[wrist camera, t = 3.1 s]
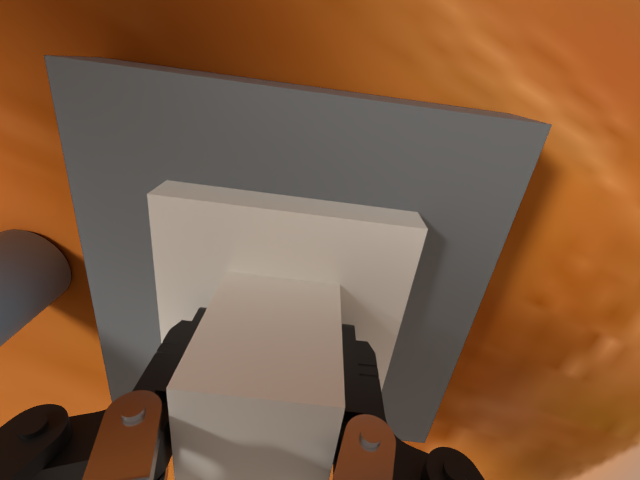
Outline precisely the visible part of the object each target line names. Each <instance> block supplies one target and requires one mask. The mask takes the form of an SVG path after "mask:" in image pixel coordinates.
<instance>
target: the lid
mask: <svg viewBox="0 0 640 480" xmlns="http://www.w3.org/2000/svg"><path fill="white" fill-rule="evenodd" d="M147 200H148V210H149V220H150V231H151V241H152V251H153V262H154V272H155V283H156V293H157V303H158V314H159V324H160V334H161V343H162V342H163V340H164V338H165V336H166V335H167V333H168V331H169V330H170V329H171V328H172V327H173V326H175V325H176V324H177V323H179V322H180V321H181V320H186V321H192V320H193V318H194V316H195V314H196V312H197V311H198V309H199V308H200V307H204V308H207V309H206V311H205V313H204V315H203V317H202V319H201V321H200V323H199V325H198V327H197V329H196V331H195V333H194V335H193V337H192V339H191V341H190V343H189V345H188V347H187V348H186V350H185V352H184V354H183V356H182V358H181V360H180V362H179V364H178V366H177V368H176V370H175V372H174V374H173V376H172V378H171V380H170V382H169V384H168V386H167V388H166V393H167V403H168V413H169V424H170V434H171V445H172V455H173V466H174V476H175V480H329V477H330V473H331V468H332V464H333V459H334V455H335V451H336V446H337V442H338V438H339V433H340V429H341V424H342V420H343V416H344V411H345V391H344V369H343V346H342V324H349V325H354V326H355V335H356V340H358V341H367V342H368V343H369V344H370V346H371V347H372V349H373V350H374V352H375V354H376V361H377V368H378V373H379V380H380V386H381V392H382V388H383V385H384V381H385V378H386V374H387V371H388V367H389V364H390V360H391V357H392V353H393V350H394V346H395V343H396V339H397V336H398V332H399V329H400V325H401V322H402V318H403V315H404V311H405V308H406V304H407V301H408V297H409V294H410V290H411V287H412V283H413V280H414V276H415V273H416V269H417V266H418V262H419V259H420V255H421V252H422V248H423V245H424V241H425V238H426V234H427V231H428V228H427V227H426V225H425V223H424V222H423V220H422V218H421V217H420V215H419V213H418V212H413V211H405V210H398V209H390V208H382V207H374V206H366V205H358V204H350V203H343V202H335V201H327V200H319V199H311V198H303V197H295V196H287V195H280V194H272V193H264V192H256V191H248V190H240V189H232V188H225V187H217V186H209V185H201V184H193V183H185V182H177V181H170V180H166V181H165V182H163V183H162V184H160V185H159V186H158V187H156V188H155V189H153V190H152V191H150V192H149V193H148V194H147Z"/></svg>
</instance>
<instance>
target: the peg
mask: <svg viewBox="0 0 640 480" xmlns="http://www.w3.org/2000/svg"><path fill="white" fill-rule="evenodd" d="M70 282H71V270H70V267H69V264H68V262H67V260H66V259H65V257H64V256H63V254H62V253H61V252H60V251H59V250H58V249H57V248H56V247H55V246H54V245H53V244H52V243H50V242H49V241H48V240H46V239H45V238H43V237H41V236H39V235H37V234H34V233H32V232H28V231H24V230H15V229H14V230H6V231H3V232H0V346H1V345H3V344H4V343H5V342H6V341H7V340H9V339H10V338H11V337H12V336H13V335H14V334H16V333H17V332H18V331H19V330H20V329H21V328H23V327H24V326H25V325H26V324H27V323H29V322H30V321H31V320H32V319H33V318H34V317H36V316H37V315H38V314H39V313H40V312H41V311H43V310H44V309H45V308H46V307H47V306H49V305H50V304H51V303H52V302H53V301H54V300H56V299H57V298H58V297H59V296H60V295H61V294H63V293H64V292H65V291H66V290H67V288H68V287H69V285H70Z"/></svg>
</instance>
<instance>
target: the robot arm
mask: <svg viewBox="0 0 640 480" xmlns="http://www.w3.org/2000/svg"><path fill="white" fill-rule="evenodd" d="M206 309H207V308H204V307H200V308H199V309H198V311H197V312H196V314H195V316H194V318H193V320H192V321H186V320H181V321H180V322H179V323H177V324H176V325H175V326H173V327H172V328H171V329H170V330H169V331H168V333H167V335H166V336H165V338H164V340H163V342H162V343H161V345H160V346H159V348H158V349H157V352H156V353H155V354H154V356H153V358H152V359H151V361H150V363H149V364H148V366H147V368H146V369H145V371H144V372H143V374H142V376H141V377H140V379H139V381H138V382H137V384H136V386H135V387H134V389H133V390H132V392H129V393H126V394H124V395H122V396H120V397H119V398H117V399H116V400H115V401H113V402H112V403H111V404H110V406H109V407H108V408H107V409H106V410H103V411H99V412H95V413H89V414H83V415H77V416H72V417H68V413H67V411H66V410H65V409H64V408H63V407H62V406H59V405H55V404H45V405H39V406H36V407H33V408H30V409H28V410H25V411H23V412H22V413H20V414H18V415H17V416H15V417H14V418H12V419H11V420H10V421H8V422H7V423H6V424H4V425H3V426H2V427H0V480H167V477H168V463H169V461H170V458H171V456H172V445H171V434H170V424H169V413H168V403H167V393H166V388H167V386H168V384H169V382H170V380H171V378H172V376H173V374H174V372H175V370H176V368H177V366H178V364H179V362H180V360H181V358H182V356H183V354H184V352H185V350H186V348H187V347H188V345H189V343H190V341H191V339H192V337H193V335H194V333H195V331H196V329H197V327H198V325H199V323H200V321H201V319H202V317H203V315H204V313H205V311H206ZM342 346H343V369H344V391H345V411H344V416H343V420H342V424H341V429H340V433H339V438H338V442H337V446H336V451H335V455H334V459H333V480H484V478H483V477H482V475H481V474H480V472H479V471H478V469H477V468H476V466H475V465H474V464H473V462H472V461H471V460H470V459H469V458H468V457H466V456H465V455H464V454H462V453H461V452H459V451H457V450H455V449H452V448H448V447H438V448H436V449H434V450H432V451H431V452H430V453H429V454H428V453H425V452H423V451H421V450H418V449H416V448H414V447H412V446H409V445H407V444H406V443H404V442H402V441H401V440H400V439H399V438H397V437H396V436H395V434H394V433H393V431H392V429H391V428H390V427H389V425H388V424H387V421H386V417H385V411H384V405H383V399H382V392H381V386H380V380H379V373H378V368H377V361H376V354H375V352H374V350H373V349H372V347H371V346H370V344H369V343H368V342H367V341H358V340H356V335H355V326H354V325H349V324H342Z"/></svg>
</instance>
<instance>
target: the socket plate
mask: <svg viewBox="0 0 640 480" xmlns="http://www.w3.org/2000/svg"><path fill="white" fill-rule="evenodd" d="M44 58H45V63H46V68H47V73H48V78H49V84H50V89H51V94H52V99H53V104H54V109H55V114H56V119H57V124H58V129H59V135H60V140H61V145H62V150H63V155H64V160H65V165H66V170H67V175H68V181H69V186H70V191H71V196H72V201H73V206H74V211H75V216H76V221H77V226H78V232H79V237H80V242H81V247H82V252H83V257H84V262H85V267H86V272H87V277H88V283H89V288H90V293H91V298H92V303H93V308H94V313H95V318H96V323H97V329H98V334H99V339H100V344H101V349H102V354H103V359H104V364H105V369H106V374H107V380H108V385H109V390H110V395H111V400H112V402H113V401H115V400H116V399H117V398H119V397H120V396H122V395H124V394H126V393H129V392H132V390H133V389H134V387H135V386H136V384H137V382H138V381H139V379H140V377H141V376H142V374H143V372H144V371H145V369H146V368H147V366H148V364H149V363H150V361H151V359H152V358H153V356H154V354H155V353H156V352H157V349H158V348H159V346H160V345H161V334H160V324H159V314H158V303H157V293H156V283H155V272H154V262H153V251H152V241H151V231H150V220H149V210H148V200H147V194H148V193H149V192H150V191H152V190H153V189H155V188H156V187H158V186H159V185H160V184H162V183H163V182H165V181H166V180H170V181H177V182H185V183H193V184H201V185H209V186H217V187H225V188H232V189H240V190H248V191H256V192H264V193H272V194H280V195H287V196H295V197H303V198H311V199H319V200H327V201H335V202H343V203H350V204H358V205H366V206H374V207H382V208H390V209H398V210H405V211H413V212H418V213H419V215H420V217H421V218H422V220H423V222H424V223H425V225H426V227H427V228H428V231H427V234H426V238H425V241H424V245H423V248H422V252H421V255H420V259H419V262H418V266H417V269H416V273H415V276H414V280H413V283H412V287H411V290H410V294H409V297H408V301H407V304H406V308H405V311H404V315H403V318H402V322H401V325H400V329H399V332H398V336H397V339H396V343H395V346H394V350H393V353H392V357H391V360H390V364H389V367H388V371H387V374H386V378H385V381H384V385H383V388H382V399H383V405H384V411H385V417H386V421H387V424H388V425H389V427H390V428H391V429H392V431H393V433H394V434H395V436H396V437H397V438H399V439H400V440H402V441H412V442H421V443H425V441H426V438H427V436H428V433H429V431H430V428H431V426H432V423H433V421H434V418H435V416H436V413H437V411H438V408H439V406H440V403H441V401H442V398H443V396H444V393H445V391H446V388H447V386H448V383H449V381H450V378H451V376H452V373H453V371H454V368H455V366H456V363H457V361H458V358H459V356H460V353H461V351H462V348H463V346H464V343H465V341H466V338H467V336H468V333H469V331H470V328H471V326H472V323H473V321H474V318H475V316H476V313H477V311H478V308H479V306H480V303H481V301H482V298H483V296H484V293H485V291H486V288H487V286H488V283H489V281H490V278H491V276H492V273H493V271H494V268H495V266H496V263H497V261H498V258H499V256H500V253H501V251H502V248H503V246H504V243H505V241H506V238H507V236H508V233H509V231H510V228H511V226H512V223H513V221H514V218H515V216H516V213H517V211H518V208H519V206H520V203H521V201H522V198H523V196H524V193H525V191H526V188H527V186H528V183H529V181H530V178H531V176H532V173H533V171H534V168H535V166H536V163H537V161H538V158H539V156H540V153H541V151H542V148H543V146H544V143H545V141H546V138H547V136H548V133H549V131H550V128H551V126H552V125H551V124H547V123H543V122H539V121H536V120H532V119H528V118H524V117H520V116H517V115H513V114H509V113H502V112H494V111H487V110H480V109H473V108H465V107H458V106H451V105H443V104H436V103H429V102H422V101H414V100H407V99H400V98H393V97H385V96H378V95H371V94H364V93H356V92H349V91H342V90H334V89H327V88H320V87H313V86H305V85H298V84H291V83H284V82H276V81H269V80H262V79H255V78H247V77H240V76H233V75H225V74H218V73H211V72H204V71H196V70H189V69H182V68H175V67H167V66H160V65H153V64H146V63H138V62H131V61H124V60H116V59H109V58H102V57H79V56H54V55H44Z"/></svg>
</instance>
